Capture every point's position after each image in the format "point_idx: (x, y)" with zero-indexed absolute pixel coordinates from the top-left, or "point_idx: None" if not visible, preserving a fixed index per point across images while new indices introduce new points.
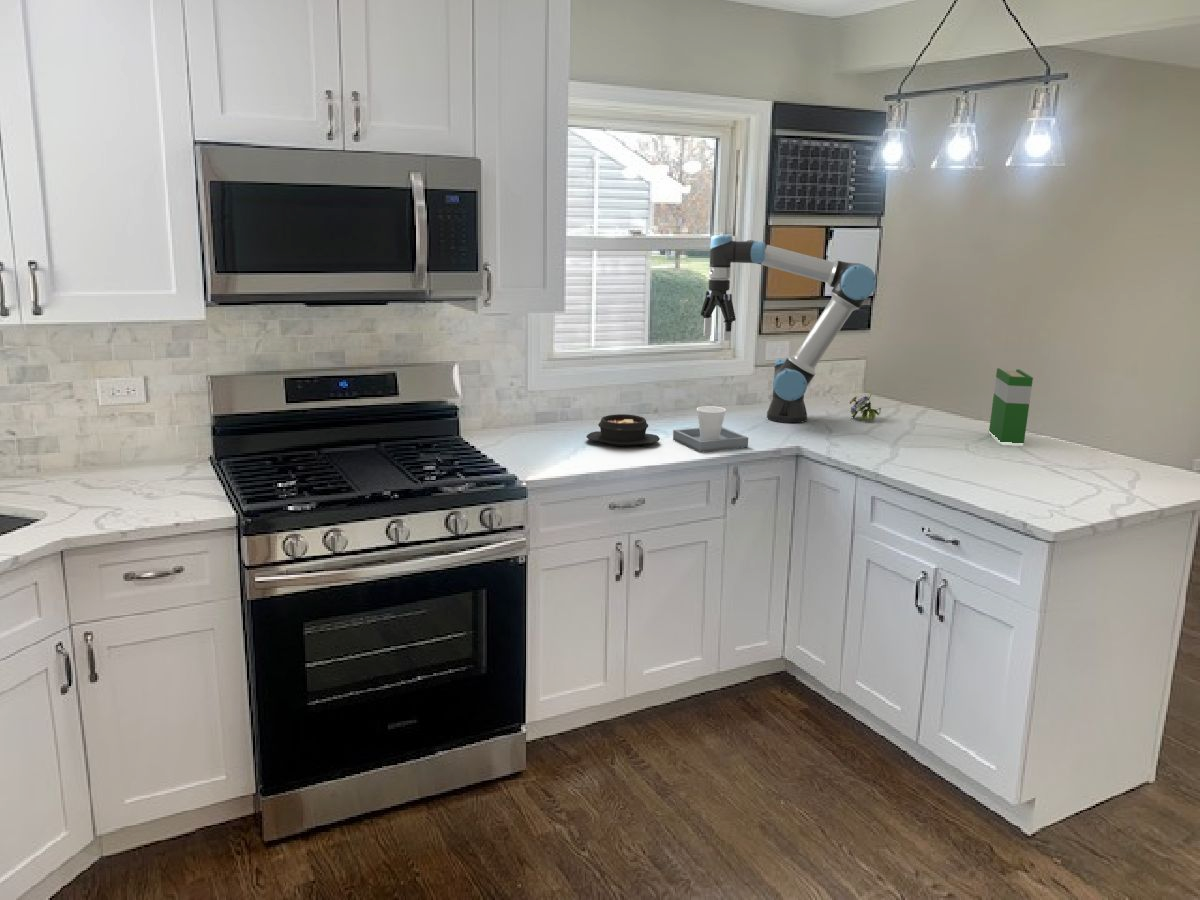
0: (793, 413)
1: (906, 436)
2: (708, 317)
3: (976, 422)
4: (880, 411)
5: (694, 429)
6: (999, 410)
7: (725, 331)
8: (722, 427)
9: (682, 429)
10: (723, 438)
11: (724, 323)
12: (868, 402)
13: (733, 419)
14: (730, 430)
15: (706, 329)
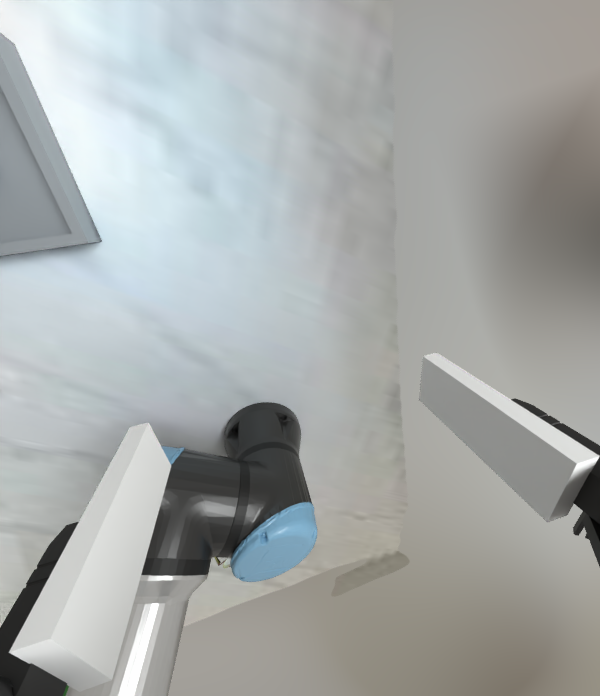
0: (226, 447)
1: None
2: (583, 505)
3: (205, 617)
4: (215, 558)
5: (22, 130)
6: (67, 689)
7: (96, 508)
8: (62, 243)
9: (3, 71)
10: (14, 224)
11: (38, 620)
12: (224, 562)
13: (278, 339)
14: (16, 251)
15: (457, 396)
